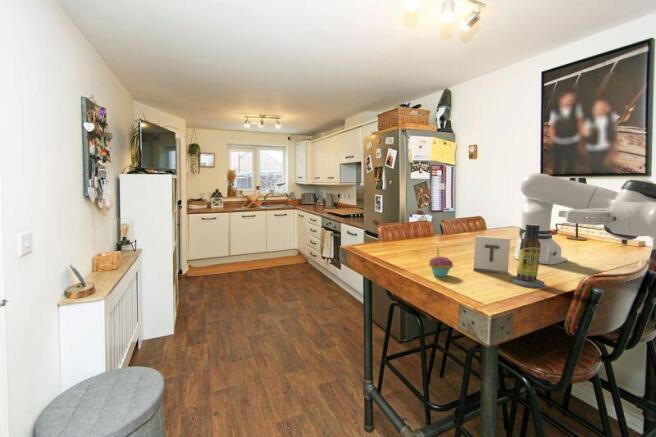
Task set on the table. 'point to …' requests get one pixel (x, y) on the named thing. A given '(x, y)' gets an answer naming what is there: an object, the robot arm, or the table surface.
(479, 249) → the letter plaque
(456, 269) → the table surface
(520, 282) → the slate mat
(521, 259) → the sauce bottle
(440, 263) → the cupcake
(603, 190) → the robot arm
